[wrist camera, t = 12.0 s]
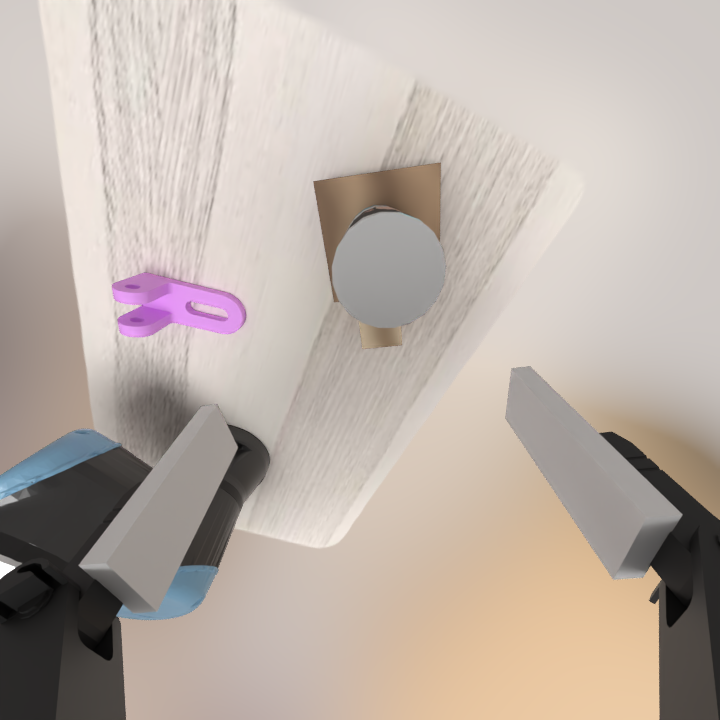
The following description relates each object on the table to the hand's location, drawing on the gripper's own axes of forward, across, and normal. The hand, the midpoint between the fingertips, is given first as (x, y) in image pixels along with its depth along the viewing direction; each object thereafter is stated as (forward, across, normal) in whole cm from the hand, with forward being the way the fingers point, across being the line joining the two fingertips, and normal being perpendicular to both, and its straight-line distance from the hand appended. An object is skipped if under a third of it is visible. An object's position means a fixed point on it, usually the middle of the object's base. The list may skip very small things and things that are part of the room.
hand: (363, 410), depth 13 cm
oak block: (+27, +2, -6) cm, 28 cm away
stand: (+27, +3, +4) cm, 27 cm away
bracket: (+28, -23, -1) cm, 36 cm away
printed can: (+22, +2, +4) cm, 23 cm away
